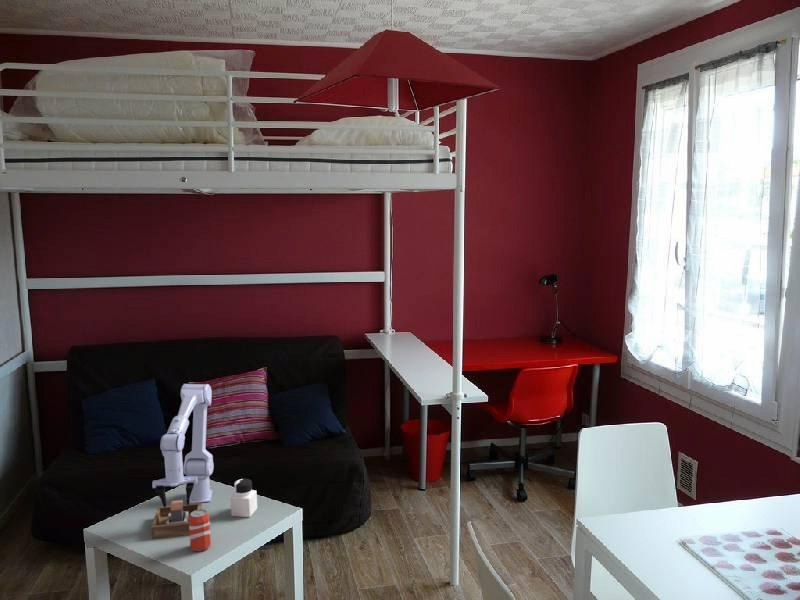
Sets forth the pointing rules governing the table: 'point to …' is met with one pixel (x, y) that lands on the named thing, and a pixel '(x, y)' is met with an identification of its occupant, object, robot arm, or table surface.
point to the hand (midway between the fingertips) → (176, 504)
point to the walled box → (169, 529)
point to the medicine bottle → (243, 499)
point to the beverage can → (199, 530)
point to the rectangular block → (177, 511)
